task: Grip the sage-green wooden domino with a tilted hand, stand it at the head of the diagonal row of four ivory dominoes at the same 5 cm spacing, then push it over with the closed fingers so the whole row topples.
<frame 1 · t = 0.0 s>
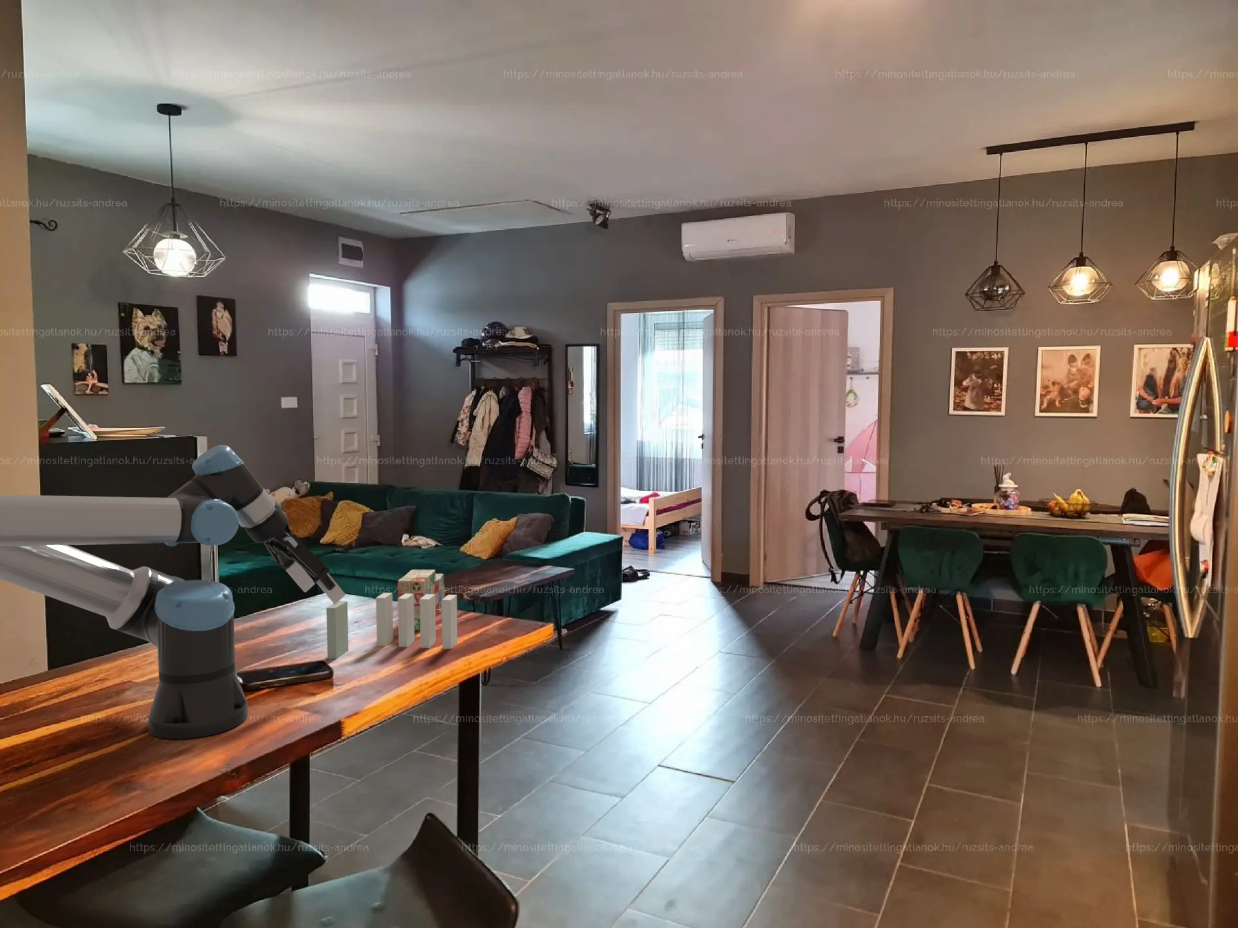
hand: (324, 593, 171), 15 cm above the table, tool tilted 35°, fingers open, 13 cm apart
domino 5: (449, 645, 187), on the table
stack of blocks: (422, 619, 210), on the table
domino 2: (385, 643, 188), on the table
domino 4: (428, 644, 188), on the table
sage domino: (338, 654, 180), on the table
domino 3: (406, 643, 188), on the table
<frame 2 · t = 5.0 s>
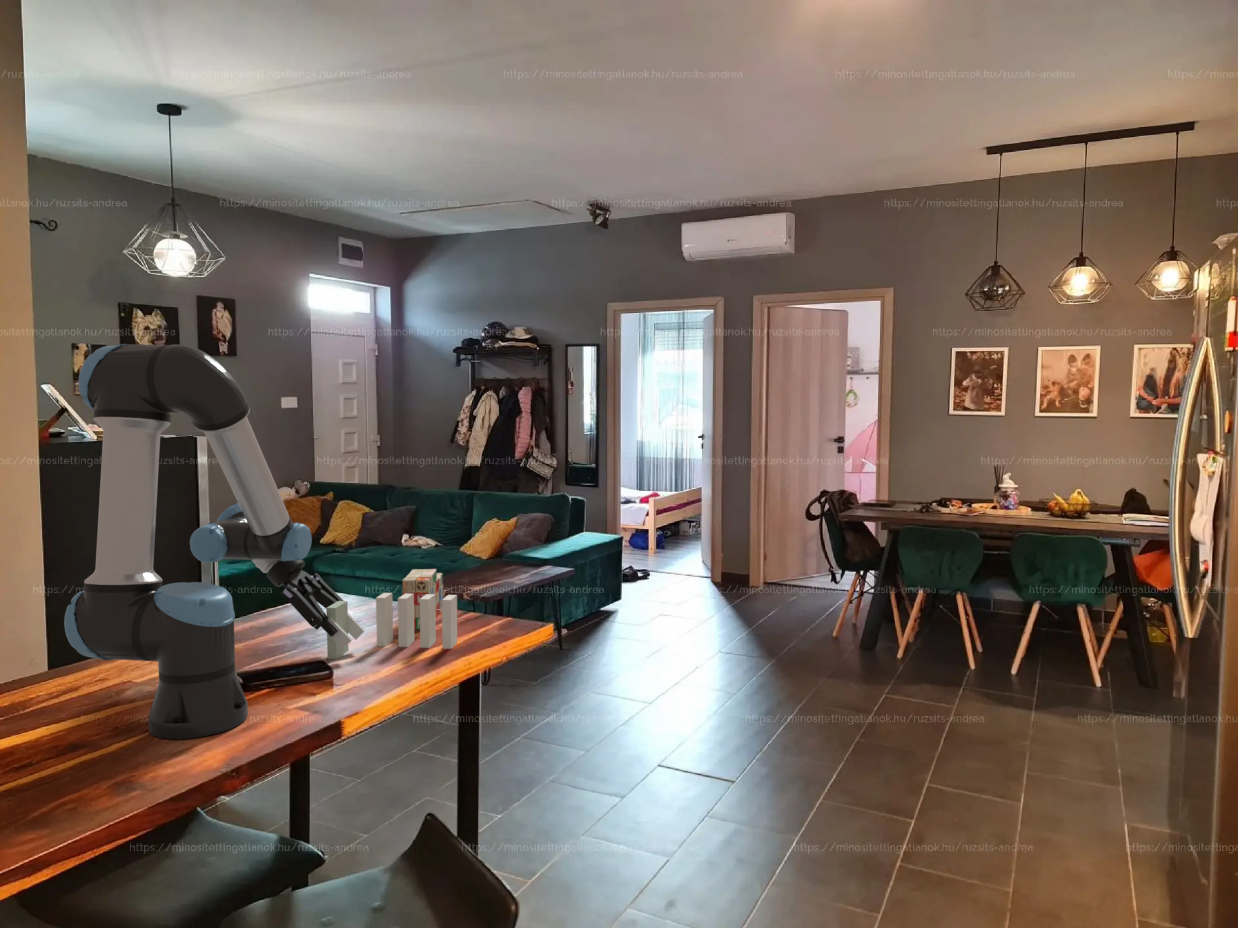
hand: (354, 639, 180), 3 cm above the table, tool tilted 45°, fingers closed on sage domino, 6 cm apart
sage domino: (338, 654, 180), on the table, touching gripper
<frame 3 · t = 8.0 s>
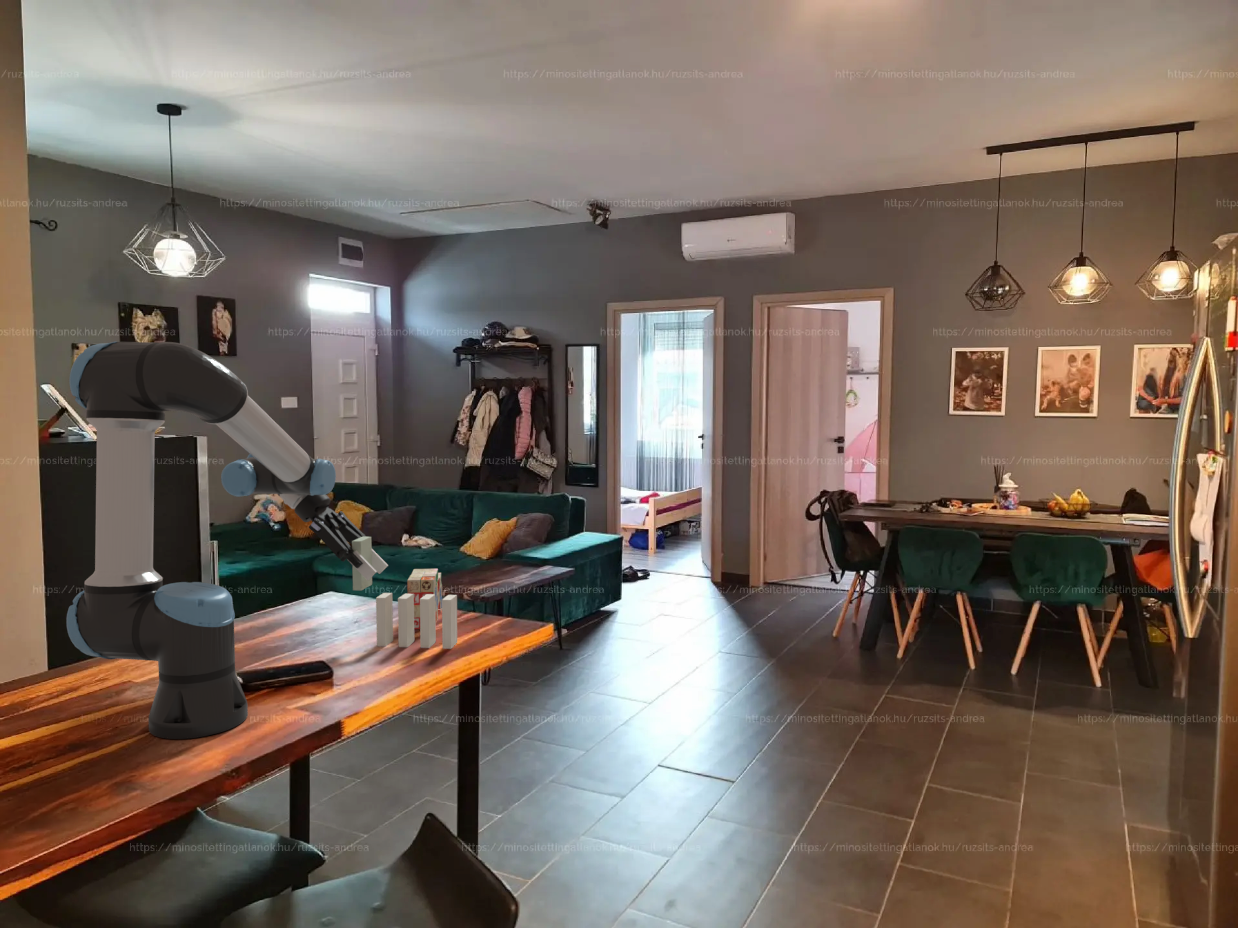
hand: (378, 572, 187), 16 cm above the table, tool tilted 45°, fingers closed on sage domino, 6 cm apart
sage domino: (362, 587, 188), point 13 cm above the table, touching gripper
when the fingers open (4 cm above the table, at t = 11.3 s): sage domino stays where it is, on the table.
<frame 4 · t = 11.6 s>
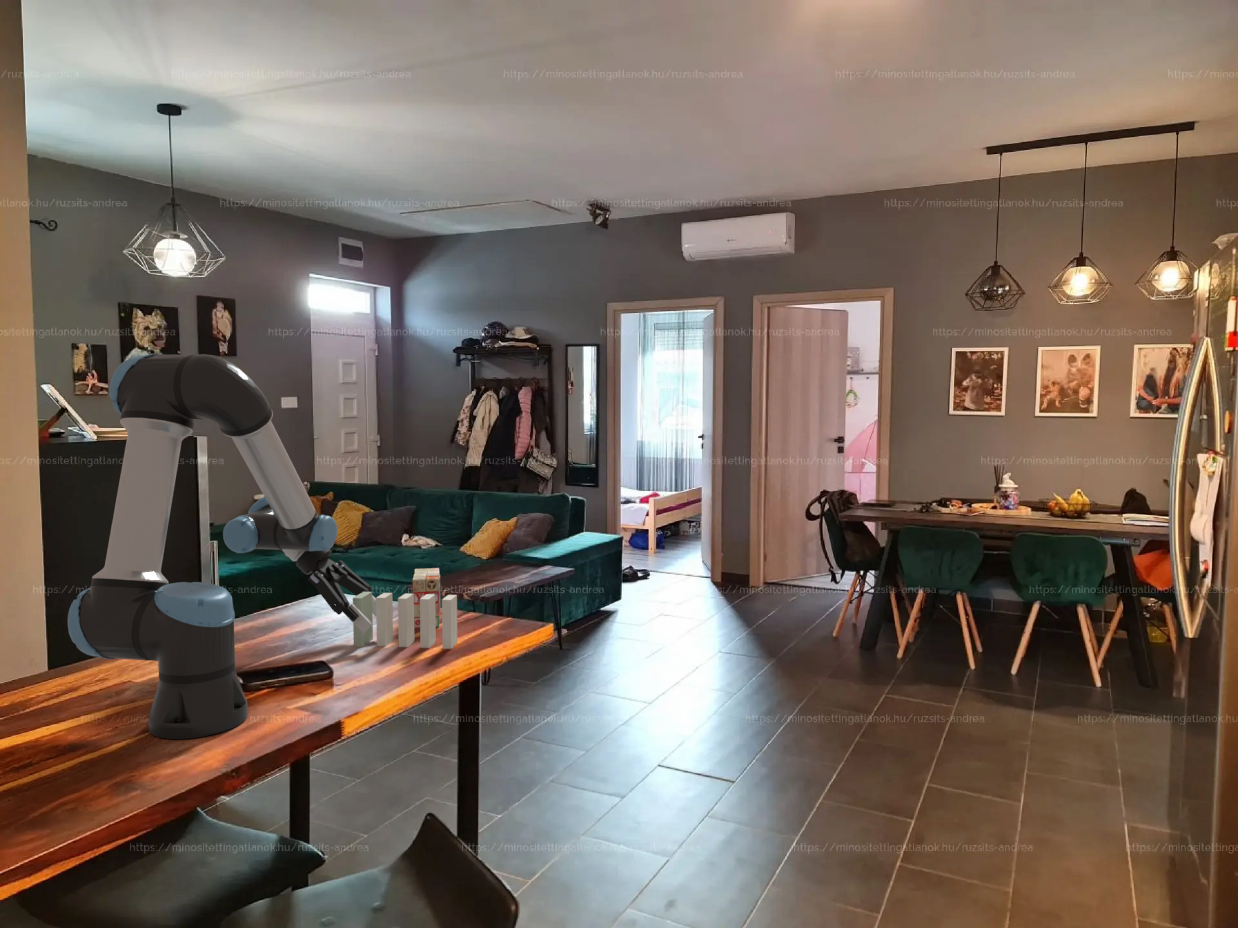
hand: (376, 622, 188), 5 cm above the table, tool tilted 45°, fingers open, 9 cm apart
sage domino: (363, 642, 189), on the table
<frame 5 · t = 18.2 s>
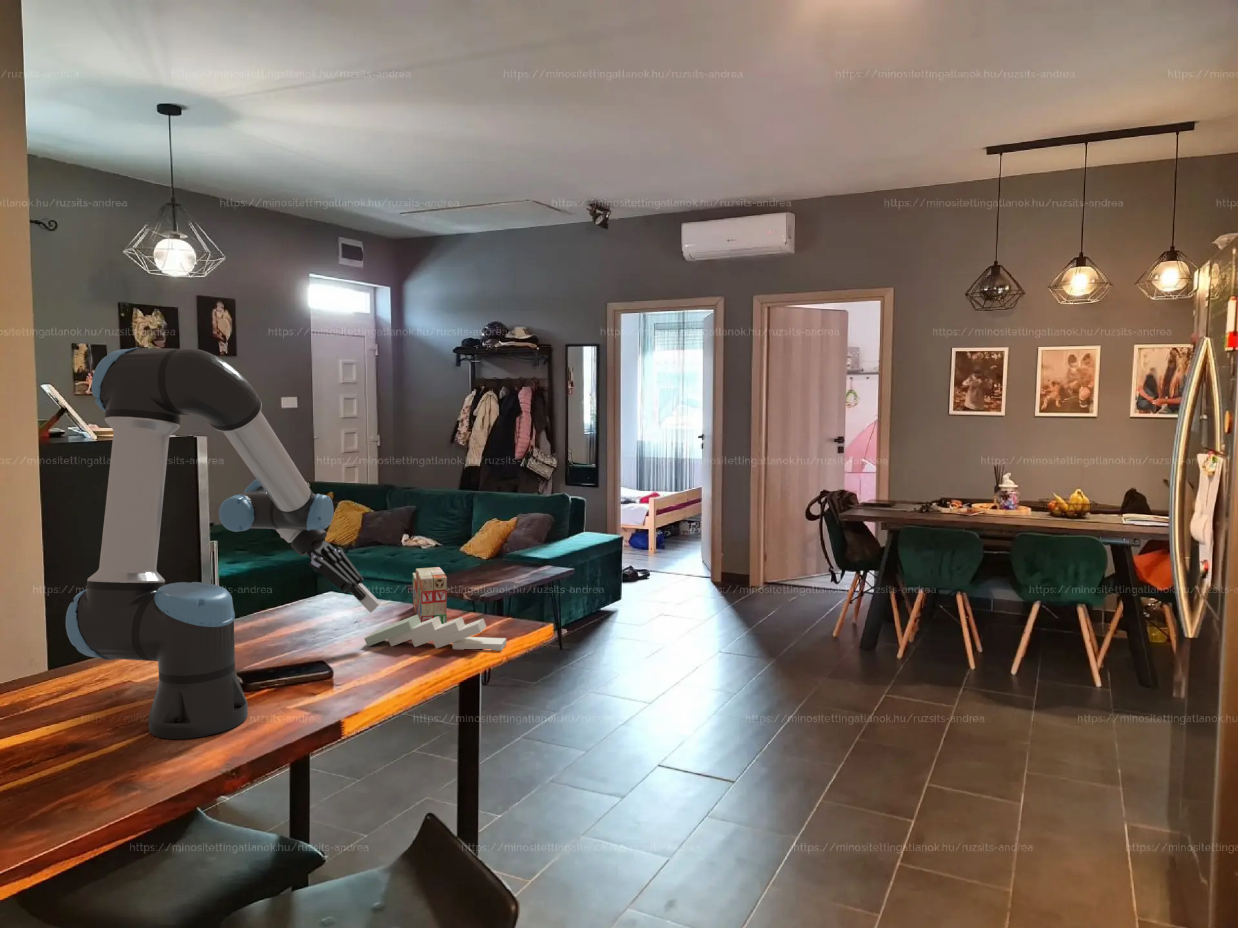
hand: (375, 607, 188), 8 cm above the table, tool tilted 45°, fingers closed
domino 5: (455, 643, 187), on the table, tilted 90°, touching domino 4
domino 2: (393, 639, 188), point 1 cm above the table, tilted 67°, touching domino 3, sage domino
domino 4: (437, 641, 187), point 1 cm above the table, tilted 68°, touching domino 3, domino 5
sage domino: (371, 638, 189), point 1 cm above the table, tilted 67°, touching domino 2
domino 3: (416, 639, 188), point 1 cm above the table, tilted 67°, touching domino 2, domino 4
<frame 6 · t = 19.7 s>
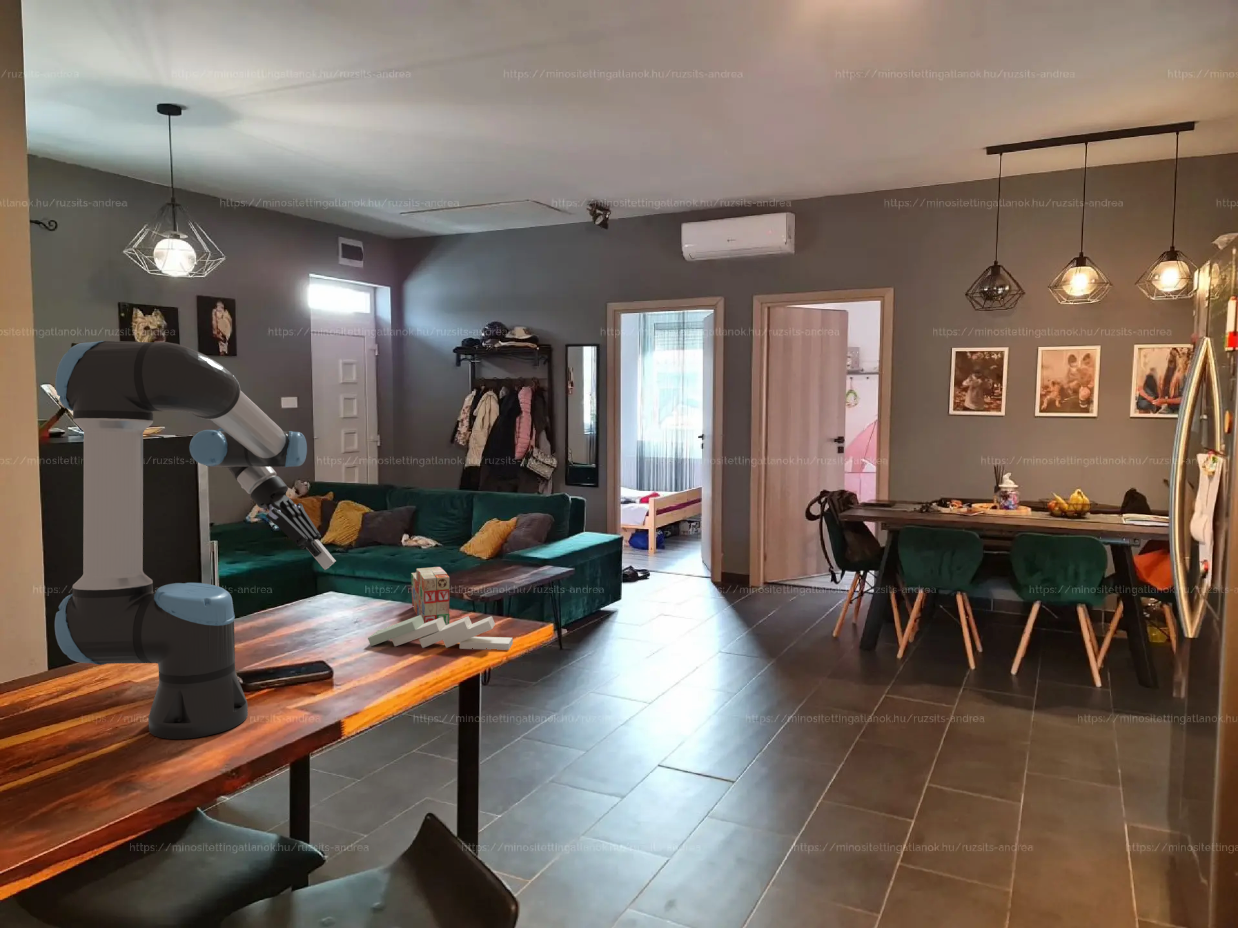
hand: (330, 565, 187), 18 cm above the table, tool tilted 40°, fingers closed
domino 5: (462, 643, 187), on the table, tilted 90°, touching domino 4
domino 2: (396, 639, 188), point 1 cm above the table, tilted 69°, touching sage domino
domino 4: (446, 640, 187), point 1 cm above the table, tilted 67°, touching domino 3, domino 5
sage domino: (374, 638, 189), point 1 cm above the table, tilted 68°, touching domino 2
domino 3: (423, 640, 187), point 1 cm above the table, tilted 67°, touching domino 4
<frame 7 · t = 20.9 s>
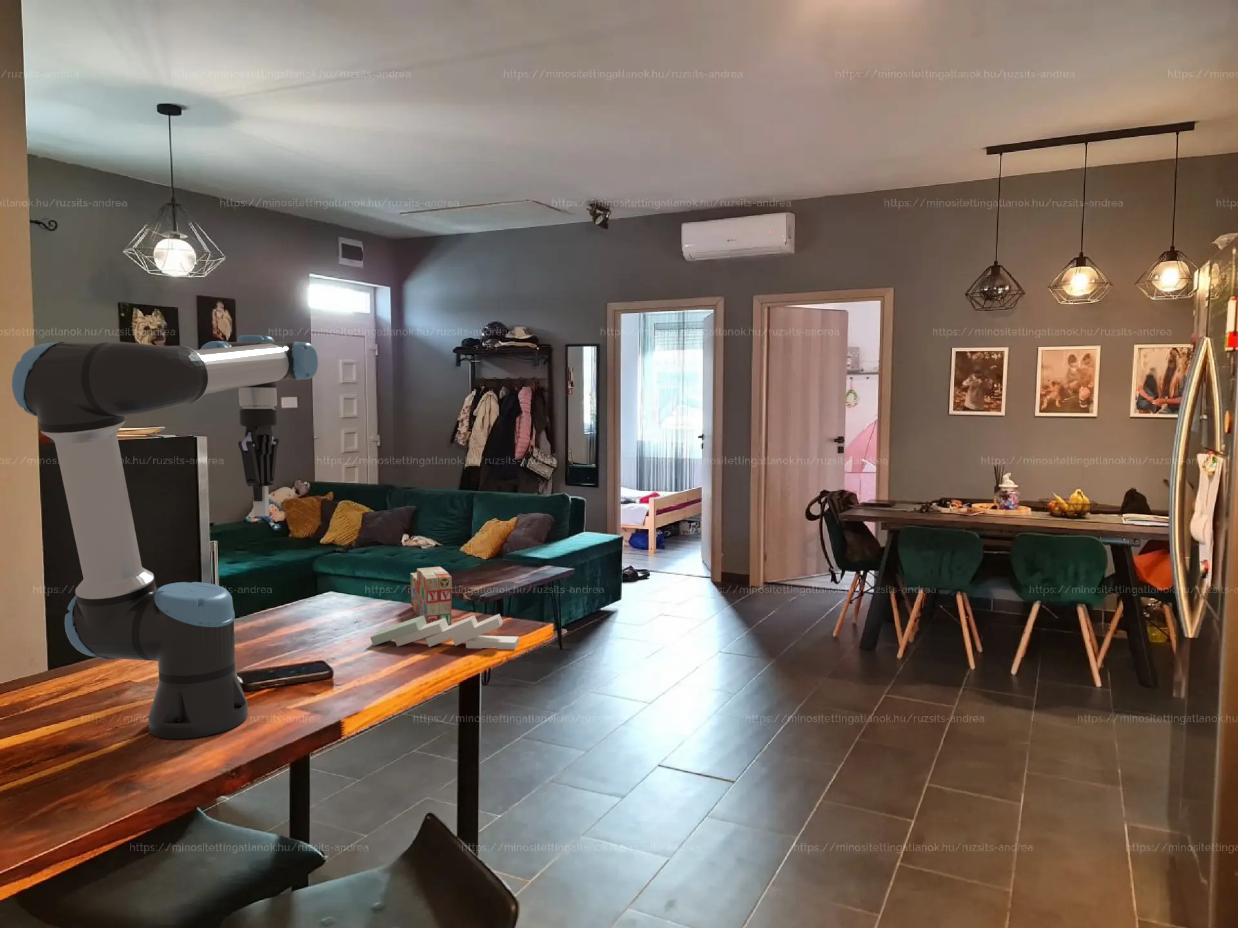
hand: (261, 515, 183), 29 cm above the table, tool pointing down, fingers closed
domino 5: (468, 642, 188), point 1 cm above the table, tilted 90°, touching domino 4
domino 2: (399, 639, 188), point 1 cm above the table, tilted 70°, touching domino 3, sage domino
domino 4: (454, 639, 187), point 1 cm above the table, tilted 67°, touching domino 3, domino 5
domino 3: (429, 640, 187), point 1 cm above the table, tilted 67°, touching domino 2, domino 4
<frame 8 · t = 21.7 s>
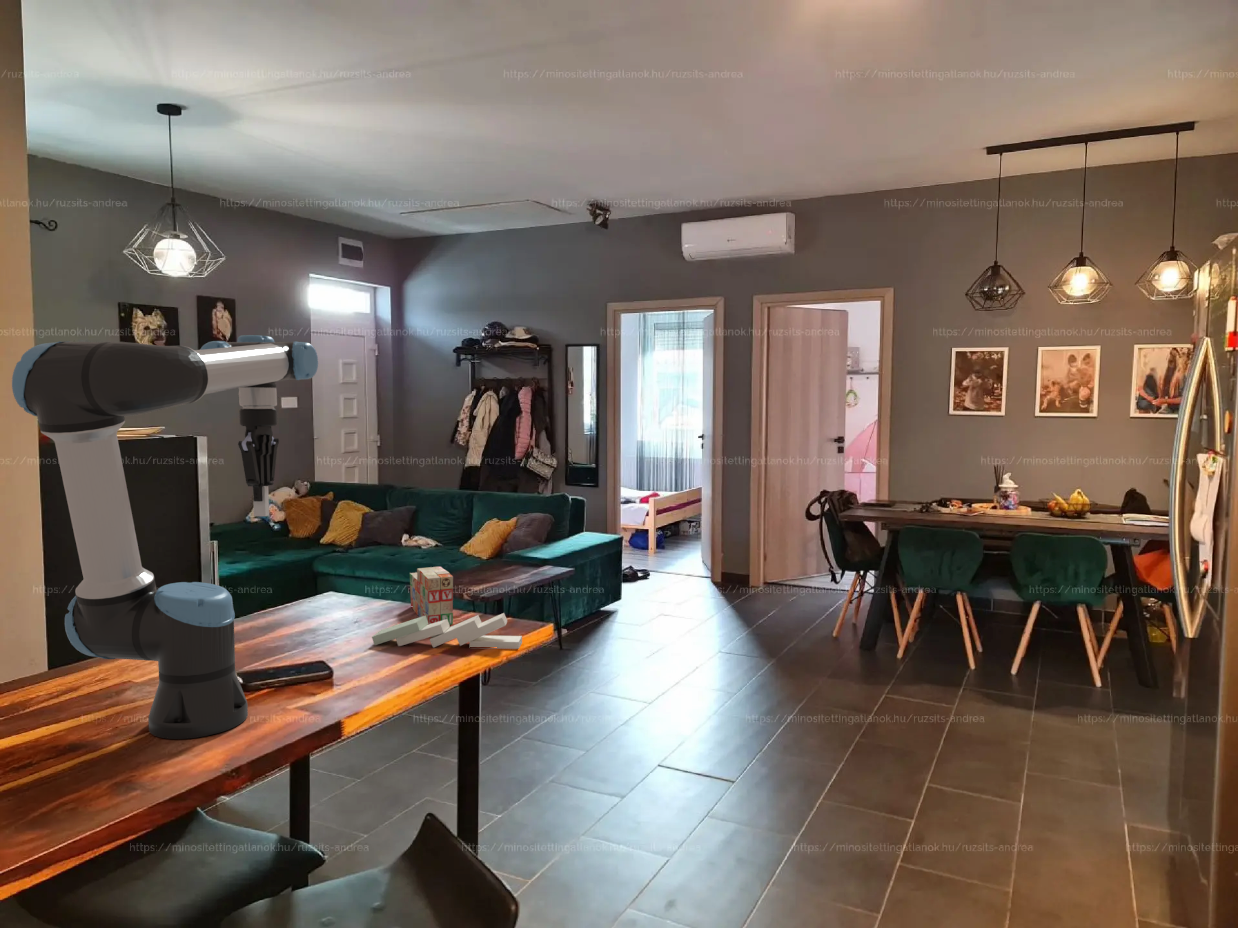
hand: (261, 515, 183), 29 cm above the table, tool pointing down, fingers closed
domino 4: (459, 639, 187), point 1 cm above the table, tilted 66°, touching domino 3, domino 5
domino 3: (433, 640, 187), point 1 cm above the table, tilted 66°, touching domino 2, domino 4
at the end: domino 5 tilted 90°; sage domino tilted 70°; sage domino inside the target area (5.9 cm from its centre), point 1.1 cm above the table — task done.
